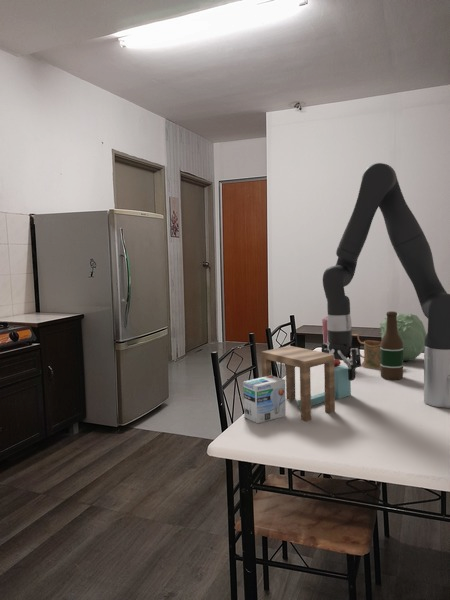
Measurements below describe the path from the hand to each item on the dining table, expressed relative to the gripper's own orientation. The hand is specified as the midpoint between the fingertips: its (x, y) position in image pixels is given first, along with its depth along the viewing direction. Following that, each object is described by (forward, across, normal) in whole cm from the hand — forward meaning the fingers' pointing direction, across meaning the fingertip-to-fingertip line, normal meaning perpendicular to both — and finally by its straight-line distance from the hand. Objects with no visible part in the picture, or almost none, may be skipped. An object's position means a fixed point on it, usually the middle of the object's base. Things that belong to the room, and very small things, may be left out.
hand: (341, 377), depth 151 cm
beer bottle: (+6, -2, +29) cm, 30 cm away
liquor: (+6, -28, +26) cm, 39 cm away
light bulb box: (+5, -1, -32) cm, 32 cm away
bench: (+5, 0, -20) cm, 21 cm away
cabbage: (+7, -14, +55) cm, 57 cm away
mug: (+6, -19, +39) cm, 43 cm away
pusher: (+6, 0, -8) cm, 10 cm away
